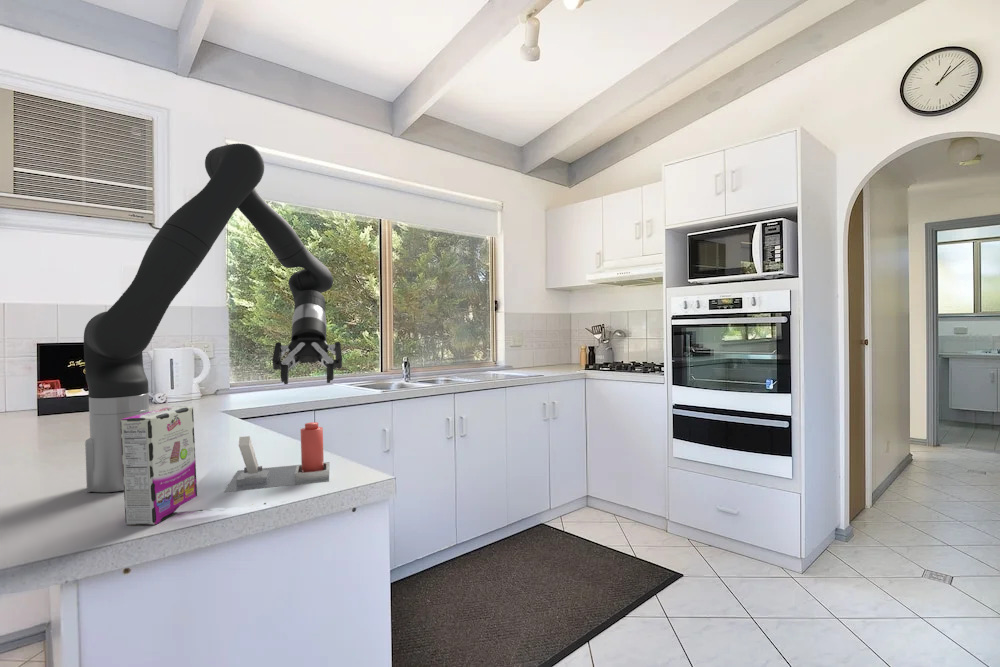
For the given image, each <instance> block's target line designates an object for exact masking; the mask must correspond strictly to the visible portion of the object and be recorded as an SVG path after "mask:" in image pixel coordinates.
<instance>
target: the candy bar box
mask: <svg viewBox="0 0 1000 667" xmlns="http://www.w3.org/2000/svg"><path fill="white" fill-rule="evenodd" d="M120 422H121V442H122V461H123V481H124V490H123V495H124V496H123V497H124V515H125V518H124V520H125V526H153V525H157V524H159V523H161V522H163V521H165V520H166V519H167V518H170V517H172V516H174V515H175V514H177V513H178V512H177V510H178V508H179V507H180V506H182V505H184V504H185V503H187V502H189V501H191V500H193V499H194V498H196V497H198V487H197V486H198V485H197V482H198V481H197V468H196V467H197V465H196V464H197V463H196V444H195V443H196V442H195V440H196V439H195V420H194V406H189V405H188V406H182V405H181V406H179V405H178V406H166V407H162V408H158V409H155V410H151V411H150V410H149V412H147V413H143V414H139V415H135V416H131V417H128V418H124V419H121V420H120Z"/></svg>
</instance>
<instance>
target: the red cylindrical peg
mask: <svg viewBox="0 0 1000 667" xmlns="http://www.w3.org/2000/svg"><path fill="white" fill-rule="evenodd" d="M300 455H301V456H300V460H301V465H302V472H310V471H320V470H324V463H325V461H324V458H325V457H324V429H323V427H322V426H319V422H315V421H314V422H306V423H304V427H302V428H300Z"/></svg>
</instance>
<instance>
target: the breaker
mask: <svg viewBox="0 0 1000 667" xmlns="http://www.w3.org/2000/svg"><path fill="white" fill-rule="evenodd" d="M238 447H239V450H240V454H241V456H242V459H243V462H244V465H245V467H244V468H243V470H244V473H248V474H253V473H258V472H261V471H262V468H263V465H259V463H258V460H257V456H256V452H255V449H254V446H253V443H252V439H251V436H249V435H248V436H246V435H245V436H239V440H238Z"/></svg>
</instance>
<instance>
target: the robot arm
mask: <svg viewBox="0 0 1000 667" xmlns="http://www.w3.org/2000/svg"><path fill="white" fill-rule="evenodd" d="M204 167H205V170H206V174H207V175H208V177H209V181H208V182H207V183H206V185H205V186H204V187H203V188H202V189H201V190H200V191H199V192H198V193H197V194H195V195H194V196H193V197H192V198H190V199H189V200H188V201H187V202H185V203H184V204H183V205H182V206H181V207H179V208H178V209H177V210H176V211H175V212H173V214H172V215H170V217H169V218H168V219H167V220H166V221H165V222H164V224H163V225H162V226H161V228H160V229H159V230H158V231H157V233H156V234H155V236H154V237H153V238H152V240H151V242H150V244H149V245H148V247H147V249H146V251H145V252H144V255H143V257H142V260H141V261H140V264H139V268H138V269H137V271H136V275H135V276H134V278H133V280H132V282H131V284H130V285H129V286H128V287H127V288H126V290H125V291H124V292H123V293H122V295H120V297H119V298H118V299H117V300H116V301H115V302H114V303H113V305H112V306H111V307H110V308H108V310H107V311H102V312H100V313H98V314H96V315H94V316H93V317H91V319H89V320H88V322H87V323H86V324H85V328H84V331H83V332H84V333H83V354H84V356H83V357H84V370H85V372H84V373H85V381H86V384H87V389H88V390H87V391H88V411H89V412H88V414H89V416H88V418H89V438H87V439H86V440H85V442H84V445H85V471H86V472H85V476H86V478H85V479H86V493H90V492H92V493H93V492H95V493H111V492H113V493H114V492H122V491H124V481H123V461H122V442H121V422H120V420H121V419H124V418H128V417H131V416H135V415H139V414H143V413H147V412H150V398H149V396H150V395H149V379H148V378H147V375H146V373H145V368H144V358H143V356H144V355H143V352H144V351H145V350H146V348H147V347H148V346H149V344H150V343H151V341H152V339H153V337H154V335H155V333H156V331H157V330H158V327H159V325H160V323H161V321H162V319H163V318H164V316H165V314H166V312H167V311H168V308H169V307H170V305H171V303H172V302H173V301H174V299H175V298H176V297H177V296H178V294H179V293H180V292H181V291H182V289H183V288H184V286H185V285H186V284H187V283H188V281H190V280H191V277H193V274H194V273H195V272H196V271H197V270H198V268H199V267H200V266H201V264H202V262H203V261H204V259H205V258H206V256H207V255H208V253H209V252H210V251H211V249H212V247H213V246H214V243H216V241H217V239H218V238H219V237H220V235H221V233H222V232H223V230H224V229H225V228H226V226H227V224H228V222H229V221H230V219H231V217H232V216H233V215H234V213H235V212H236V211H237V210H239V212H241V214H243V216H244V217H245V218H246V219H247V220H248V221H249V223H251V225H252V226H253V227H254V229H255V230H256V231H257V232H258V234H259V235H260V236H261V237H262V239H263V240H264V242H265V243H266V245H267V246H268V247H269V249H270V250H271V252H272V253H273V254H274V256H275V258H276V259H277V260H278V262H279V263H280V264H281V266H282V267H283V268H286V269H293V268H302V269H301V270H299V271H295V273H293V274H292V275H290V277H289V279H288V287H289V289H290V292H291V294H292V298H293V301H294V310H293V316H292V321H291V322H292V323H291V339H290V343H289V344H286V345H284V344H283V345H282V343H281V342H280V341H278V342H275V343H274V350H273V355H272V368H273V370H275V371H277V370H280V381H281V383H283V384H284V385H288V384H289V373H290V371H289V370H290V369H291V368H292V367H293V368H294V367H296V366H297V365H298V364H299V363H301V364H305V363H311V364H313V363H319V364H320V365H321V366H323V367H325V368H326V384H330V383H331V381H333V380H334V378H335V377H334V375H335V374H334V373H335V372H334V371H335V369H336V368H337V369H342V368H343V354H342V346H341V342H340V341H335V342H334V343H333V344H328V343H327V326H328V325H327V318H326V316H327V315H326V300H325V296H324V295H323V294H322V293H325V292H327V291H330V289H331V288H332V287H333V284H334V278H333V274H332V272H331V271H330V269H328V266H326V265H325V264H324V263H322V261H320V260H319V259H318V258H317V257H316V256H315V255H314V254H312V253H311V251H309V249H307V247H306V246H305V244H304V243H303V241H302V240H301V238H300V237H299V235H298V234H297V232H296V231H295V229H294V228H293V226H292V225H290V223H289V222H288V221H287V220H286V219H285V218H284V217H283V216H282V215H281V214H279V213H278V212H277V211H276V210H275V209H274V208H273V207H272V206H270V205H269V204H268V203H267V202H266V200H265V199H264V198H263V197H262V196H261V194H259V192H258V190H257V189H256V187H257V186H258V184H259V183H260V182H261V180H262V178H263V176H264V174H265V162H264V158H263V156H262V154H261V153H260V151H259V150H258V149H257V148H255V147H254V146H252V145H250V144H246V143H231V144H226V145H222V146H217V147H215V148H212V149H211V150H209V151H208V153H207V155H206V157H205V160H204ZM286 352H288V354H287V356H286V357H285V358H284V359H283V360H282V357H283V356H284V355H285V354H286ZM328 352H331V354H333V355H335V359H332V357H331V356H329V354H328Z"/></svg>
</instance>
